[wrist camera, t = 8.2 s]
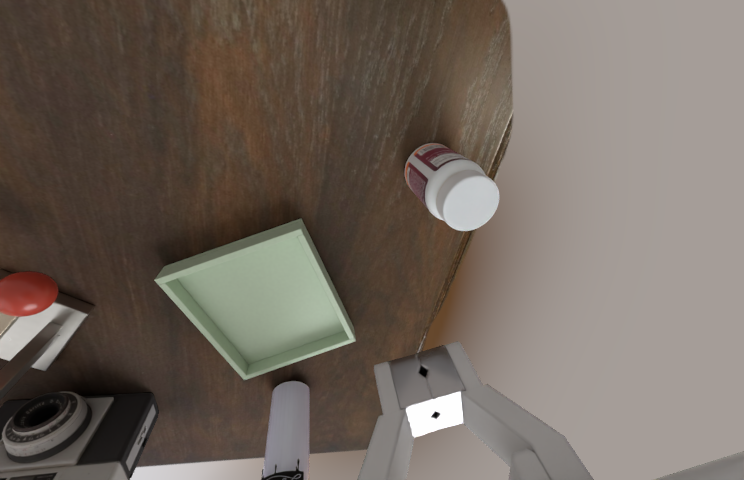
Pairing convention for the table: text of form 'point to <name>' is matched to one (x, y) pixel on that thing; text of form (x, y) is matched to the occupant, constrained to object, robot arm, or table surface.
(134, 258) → the table surface
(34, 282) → the lever
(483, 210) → the pill bottle
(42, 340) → the bracket
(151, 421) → the camera
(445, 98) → the table surface
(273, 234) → the tray
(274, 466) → the perfume bottle
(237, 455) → the table surface
